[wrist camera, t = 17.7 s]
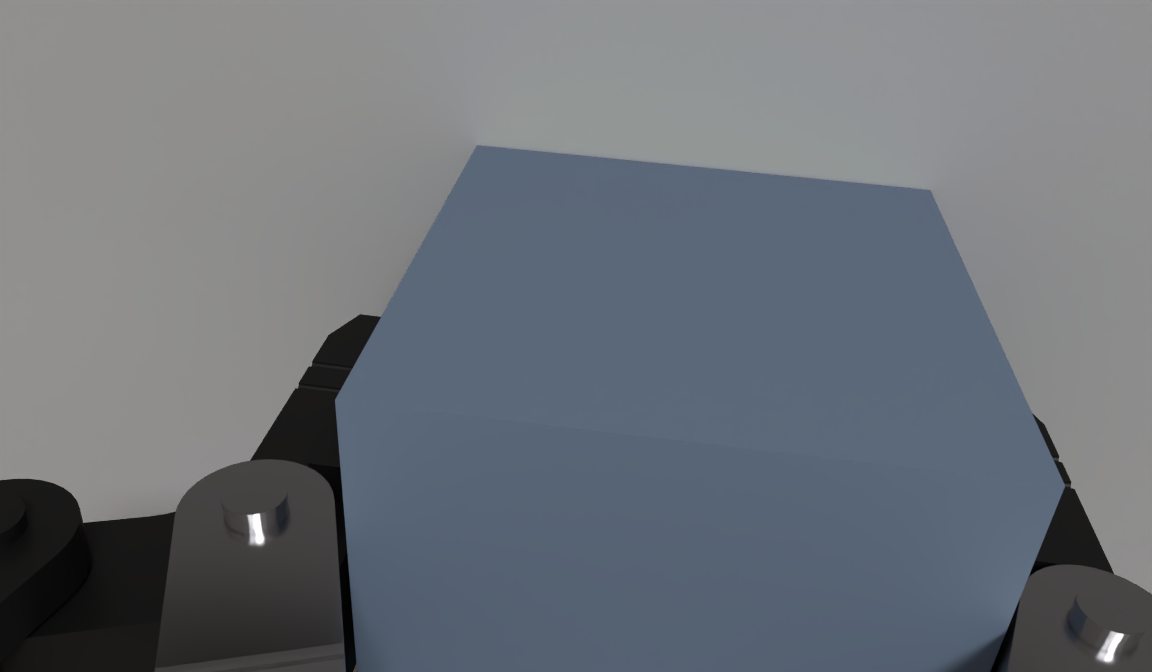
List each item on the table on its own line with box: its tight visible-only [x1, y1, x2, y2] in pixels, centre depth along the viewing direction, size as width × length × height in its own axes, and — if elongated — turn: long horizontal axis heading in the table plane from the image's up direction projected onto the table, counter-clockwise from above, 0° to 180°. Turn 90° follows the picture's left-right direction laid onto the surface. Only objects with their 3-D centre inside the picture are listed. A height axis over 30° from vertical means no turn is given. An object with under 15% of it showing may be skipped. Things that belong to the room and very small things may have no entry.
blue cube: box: [335, 146, 1065, 672], centre depth 10 cm, size 5×5×5 cm
